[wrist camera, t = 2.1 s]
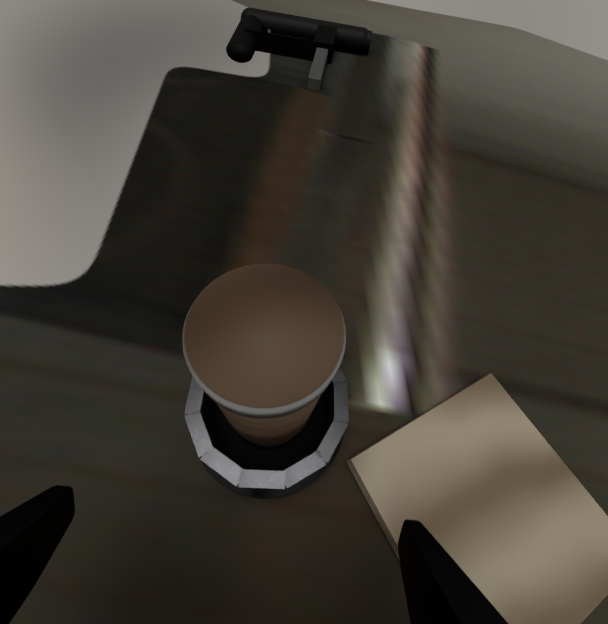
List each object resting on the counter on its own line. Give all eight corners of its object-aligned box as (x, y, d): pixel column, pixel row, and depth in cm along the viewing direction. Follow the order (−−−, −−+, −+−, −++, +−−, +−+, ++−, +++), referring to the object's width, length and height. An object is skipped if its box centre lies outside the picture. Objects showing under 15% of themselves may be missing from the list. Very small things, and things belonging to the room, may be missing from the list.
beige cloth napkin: (616, 553, 19) (641, 557, 18) (473, 700, 15) (491, 719, 14) (479, 379, 24) (491, 373, 22) (345, 461, 20) (350, 459, 19)
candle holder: (371, 445, 21) (390, 437, 17) (227, 533, 18) (216, 545, 14) (300, 324, 25) (305, 297, 21) (173, 379, 22) (154, 359, 18)
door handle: (366, 81, 40) (374, 22, 47) (213, 54, 40) (244, -1, 47) (360, 107, 43) (368, 48, 50) (217, 82, 43) (246, 26, 50)
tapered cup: (324, 426, 20) (378, 361, 10) (248, 468, 19) (216, 446, 8) (287, 358, 22) (300, 243, 12) (217, 391, 21) (159, 292, 10)
